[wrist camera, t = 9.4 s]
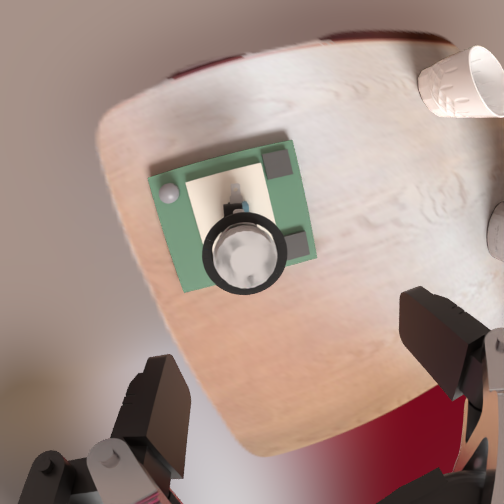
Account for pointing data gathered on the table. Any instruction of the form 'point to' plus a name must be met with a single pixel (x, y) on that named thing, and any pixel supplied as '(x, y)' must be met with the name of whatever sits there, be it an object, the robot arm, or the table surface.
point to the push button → (243, 249)
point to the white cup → (464, 85)
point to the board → (218, 193)
